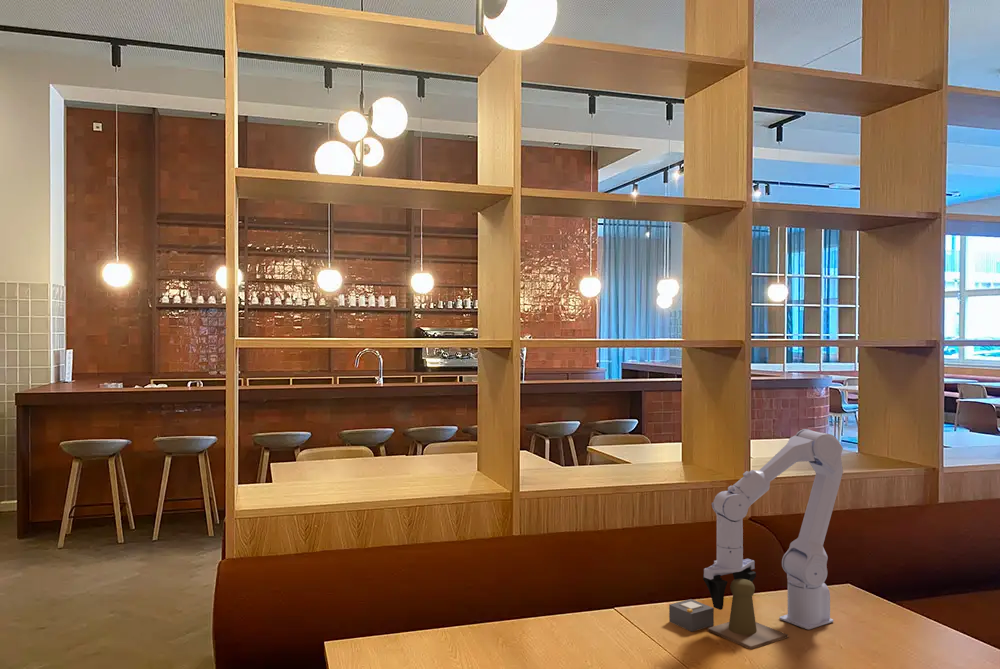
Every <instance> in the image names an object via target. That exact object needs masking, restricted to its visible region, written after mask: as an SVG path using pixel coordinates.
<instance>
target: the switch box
mask: <svg viewBox="0 0 1000 669" xmlns="http://www.w3.org/2000/svg"><path fill="white" fill-rule="evenodd" d="M687 602H694V603H696V604H699V605H701V606H702V608H699V609H695V610H692V609H687V608H684V607H682V606H681V604H683V603H687ZM668 606H669V608H668V609H669V610H668V611H669V612H668V615H669V616H668V617H669V623H671V624H673V625H675V626H677V627H680V628H682V629H684V630H687V631H689V632H696V631H698V630H702V629H703V630H704V629H706V628H710V627H713V626H715V625H714V623H715V622H714V620H715V618H714V612H715V611H714V609H715V608H714V606H713V607H712V606H710V605H708V604H705V603H704V602H703V603H702V602H699V601H697V600H695V599H692V598H690V599H685V600H682V601H678V602H675V603H674V602H673V603H670V604H669V605H668Z"/></svg>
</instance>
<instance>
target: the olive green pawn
mask: <svg viewBox="0 0 1000 669" xmlns="http://www.w3.org/2000/svg"><path fill="white" fill-rule="evenodd" d="M729 588H730V592H731V594H732V599H731V607H730V614H729V619H728V620H729V621H728V622H729V630H730V631H732V632H734V633H737V634H743V635H750V634H755V633H756V632H757V629H756V622H757V621H756V614H755V610H754V609H755V606H754V602H753V601H754V599H753V596H754V594H755V590H756V587H755V584H754V583H753V582H751V581H749V580H746V579H735V580H734V579H733V580H732V581H731V582H730V585H729Z"/></svg>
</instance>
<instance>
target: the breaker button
mask: <svg viewBox="0 0 1000 669" xmlns="http://www.w3.org/2000/svg"><path fill="white" fill-rule="evenodd" d="M681 606H682V607H684V608H687V609H692V610H695V609H699V608H702V606H701V605H699V604H696V603H694V602H687V603H683V604H681Z"/></svg>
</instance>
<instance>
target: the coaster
mask: <svg viewBox="0 0 1000 669" xmlns="http://www.w3.org/2000/svg"><path fill="white" fill-rule="evenodd" d="M755 622H756V629H757V632H756V633H755V634H750V635H743V634H737V633H734V632H732V631H730V630H729V621H728V622H723V623H721V624H717V625H713V626H710V627H707V631H708V632H709V633H712V634H715V635H717V636H719V637H720V638H721V637H722V638H723V639H726V640H728V641H731V642H733V643H735V644H738V645H740V646H743V647H744V648H746V649H749V650H753V649H757V648H760V647H762V646H766V645H769V644H772V643H775V642H778V641H781V640H785V639H787V638H788V637H789V635H788V633H785V632H782V631H780V630H778V629H774V628H772V627H770V626H768V625H764V624H762V623H760V622H757V621H755Z"/></svg>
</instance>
